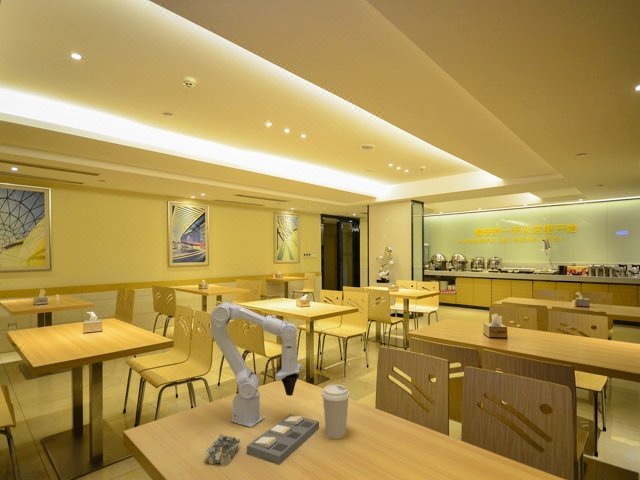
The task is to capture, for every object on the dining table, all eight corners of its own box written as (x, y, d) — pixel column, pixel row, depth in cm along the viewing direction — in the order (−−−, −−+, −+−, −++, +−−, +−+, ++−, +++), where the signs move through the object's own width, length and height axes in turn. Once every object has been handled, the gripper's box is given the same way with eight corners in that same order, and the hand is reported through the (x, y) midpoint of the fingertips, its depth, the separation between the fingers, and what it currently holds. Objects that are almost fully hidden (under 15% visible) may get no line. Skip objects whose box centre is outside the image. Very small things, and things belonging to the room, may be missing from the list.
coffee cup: (348, 443, 112) (348, 395, 113) (319, 440, 114) (318, 393, 115) (351, 428, 122) (351, 384, 122) (324, 426, 124) (324, 382, 124)
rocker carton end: (255, 446, 108) (254, 442, 108) (263, 440, 111) (262, 436, 112) (268, 447, 106) (267, 443, 106) (276, 441, 109) (275, 437, 109)
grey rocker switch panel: (246, 453, 107) (246, 445, 107) (290, 420, 128) (290, 413, 128) (279, 464, 101) (279, 455, 101) (319, 428, 122) (319, 421, 122)
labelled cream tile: (284, 424, 122) (283, 420, 122) (290, 420, 125) (290, 416, 126) (296, 424, 120) (296, 420, 120) (302, 419, 123) (302, 415, 123)
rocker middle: (270, 433, 115) (270, 429, 115) (277, 428, 119) (277, 424, 119) (283, 437, 113) (283, 432, 113) (290, 431, 116) (290, 427, 116)
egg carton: (227, 468, 100) (227, 453, 100) (203, 464, 102) (203, 450, 102) (242, 447, 111) (242, 434, 111) (220, 445, 112) (220, 432, 112)
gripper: (287, 364, 121) (287, 404, 120) (308, 353, 134) (309, 390, 133) (270, 361, 124) (270, 400, 124) (293, 351, 137) (293, 386, 136)
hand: (289, 394), depth 129 cm, fingers closed
